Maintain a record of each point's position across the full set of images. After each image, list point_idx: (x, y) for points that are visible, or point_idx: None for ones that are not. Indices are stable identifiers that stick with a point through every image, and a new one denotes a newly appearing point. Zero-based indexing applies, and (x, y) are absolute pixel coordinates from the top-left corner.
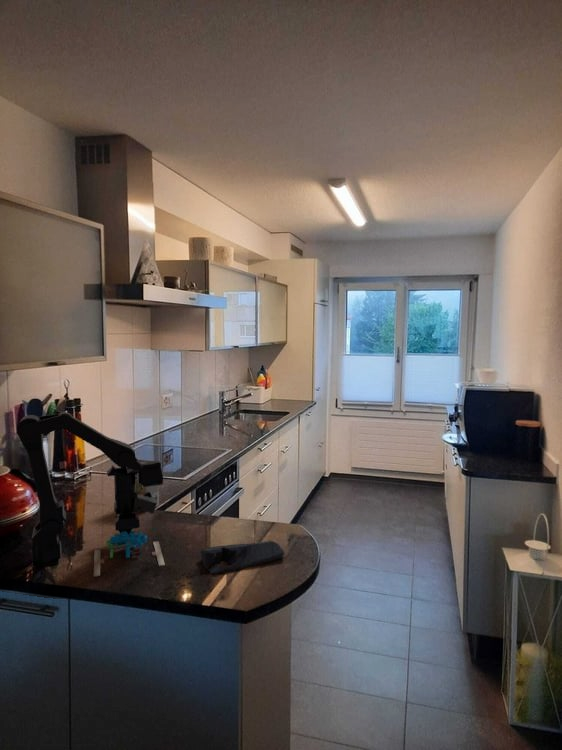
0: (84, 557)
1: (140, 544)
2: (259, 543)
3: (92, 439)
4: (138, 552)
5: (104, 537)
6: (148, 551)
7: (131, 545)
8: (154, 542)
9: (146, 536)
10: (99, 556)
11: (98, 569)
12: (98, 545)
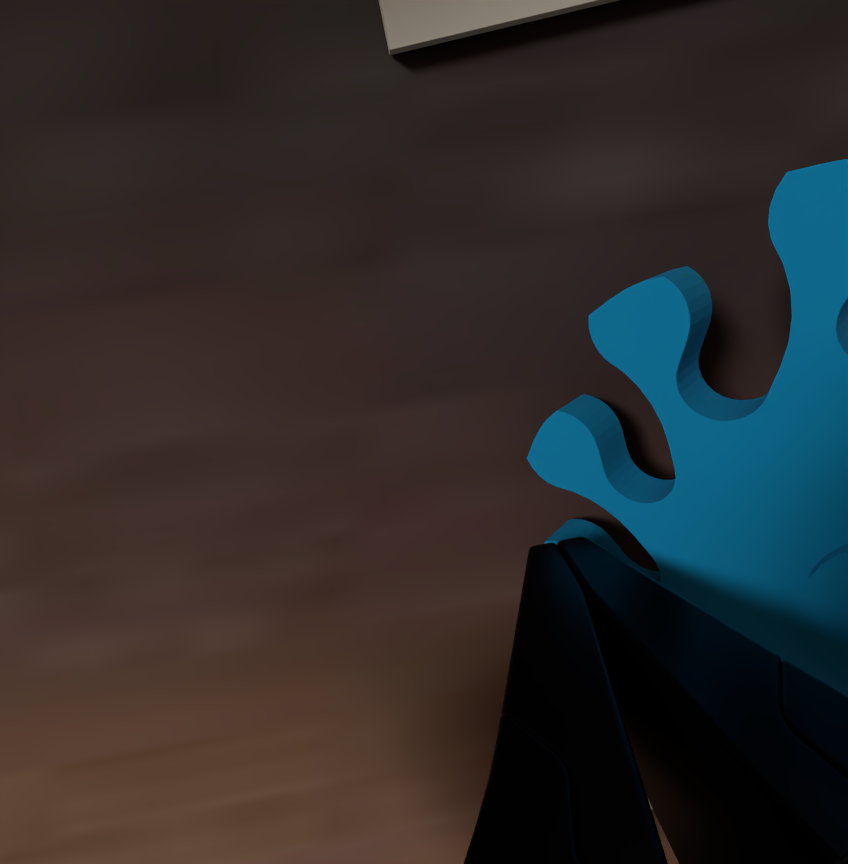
0: (667, 852)
1: (708, 310)
2: None
3: None
4: (767, 311)
5: (117, 824)
6: (799, 116)
7: (630, 474)
8: (424, 10)
9: None
10: None
11: None
12: (369, 822)
